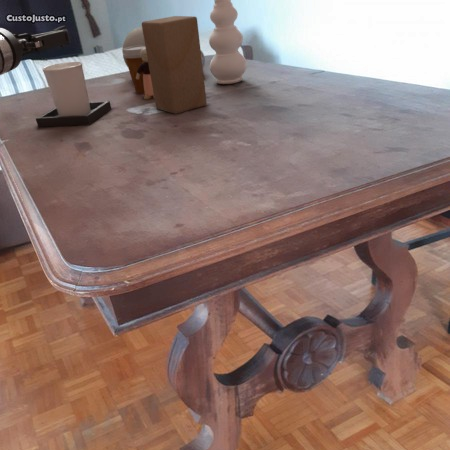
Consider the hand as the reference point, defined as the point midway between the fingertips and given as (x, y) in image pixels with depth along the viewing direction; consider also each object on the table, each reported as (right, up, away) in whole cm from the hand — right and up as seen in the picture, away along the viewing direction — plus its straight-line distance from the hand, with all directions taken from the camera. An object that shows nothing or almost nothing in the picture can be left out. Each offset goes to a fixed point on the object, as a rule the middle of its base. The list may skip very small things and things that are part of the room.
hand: (36, 35), depth 106 cm
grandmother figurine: (+22, -1, +31) cm, 37 cm away
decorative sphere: (+17, +17, +56) cm, 60 cm away
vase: (+44, +6, +36) cm, 57 cm away
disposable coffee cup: (+18, +4, +38) cm, 42 cm away
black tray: (+3, -11, +20) cm, 23 cm away
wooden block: (+31, -9, +18) cm, 37 cm away
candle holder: (+3, -10, +19) cm, 22 cm away
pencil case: (+30, +19, +56) cm, 66 cm away
